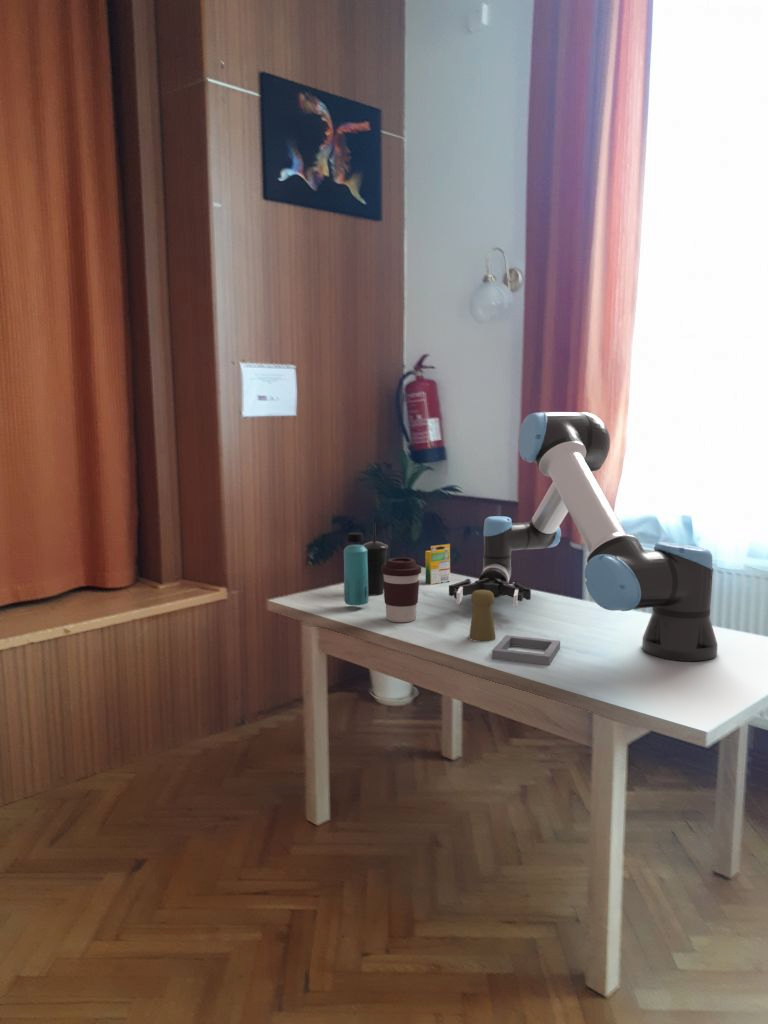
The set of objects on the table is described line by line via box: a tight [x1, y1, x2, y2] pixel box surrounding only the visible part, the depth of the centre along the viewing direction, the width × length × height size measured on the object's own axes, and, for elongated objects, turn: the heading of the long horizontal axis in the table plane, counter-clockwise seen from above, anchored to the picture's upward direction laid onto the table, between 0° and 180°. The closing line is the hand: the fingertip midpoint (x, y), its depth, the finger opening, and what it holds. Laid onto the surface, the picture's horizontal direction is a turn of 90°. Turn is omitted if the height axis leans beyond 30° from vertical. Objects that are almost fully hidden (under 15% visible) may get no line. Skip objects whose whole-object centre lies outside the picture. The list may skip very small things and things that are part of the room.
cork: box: [468, 590, 496, 642], centre depth 182 cm, size 6×6×11 cm
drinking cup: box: [362, 522, 389, 596], centre depth 225 cm, size 8×8×20 cm
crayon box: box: [424, 543, 451, 585], centre depth 239 cm, size 7×3×12 cm, turn 122°
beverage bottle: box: [343, 532, 370, 606], centre depth 209 cm, size 6×7×20 cm
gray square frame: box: [491, 634, 561, 666], centre depth 171 cm, size 12×12×2 cm
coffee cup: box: [381, 557, 422, 623], centre depth 198 cm, size 10×10×15 cm
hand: (486, 599), depth 191 cm, fingers open, 13 cm apart
